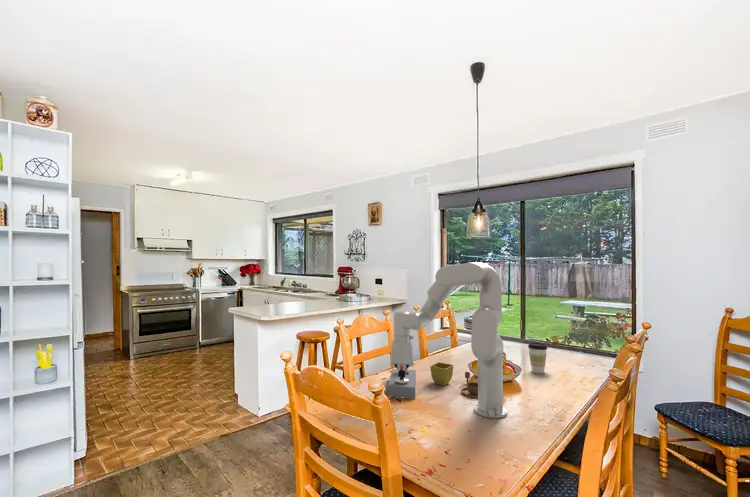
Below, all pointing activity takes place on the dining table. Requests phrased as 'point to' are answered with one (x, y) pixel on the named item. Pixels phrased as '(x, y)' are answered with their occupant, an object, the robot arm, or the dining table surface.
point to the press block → (402, 385)
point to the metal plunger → (402, 380)
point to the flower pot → (441, 373)
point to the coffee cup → (537, 356)
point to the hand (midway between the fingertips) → (401, 378)
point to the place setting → (470, 387)
